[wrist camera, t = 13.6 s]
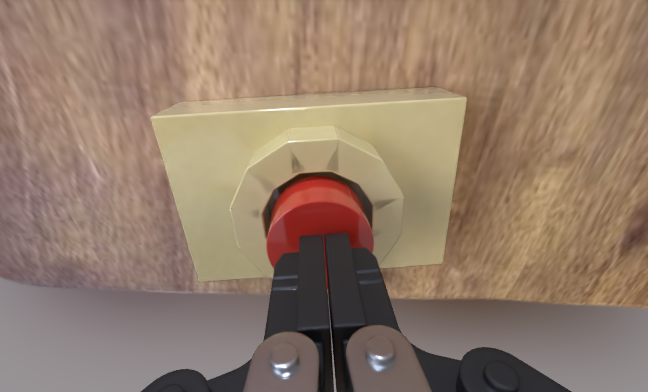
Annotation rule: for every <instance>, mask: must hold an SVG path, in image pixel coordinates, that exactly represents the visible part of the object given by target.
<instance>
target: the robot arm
mask: <svg viewBox="0 0 648 392" xmlns="http://www.w3.org/2000/svg"><path fill="white" fill-rule="evenodd" d="M325 249H326V266H327V282H328V294H327V282H326V269H325V257H324V244H323V234H317V235H303V236H300V237H299V252H293V253H283V254H282V256H281V257H280V258H279V260H278V261H277V262H276V264H275V267H274V274H273V281H272V288H271V289H272V292H271V295H270V303H269V309H268V316H267V323H266V330H265V336H264V341H263V343H261V344H260V345H259V347H258V348H257V349H256V351H255V353H254V354H253V357H252V359H251V360H249V361H248V362H247V363H246V364H244V365H243V366H241V367H239V368H238V369H236V370H233V371H231V372H228V373H226V374H223V375H221V376H218V377H216V378H213V379H210V380H208V381H207V380H206V378H205V377H204V376H203V375H202V374H201V373H199V372H197V371H194V370H189V369H181V370H176V371H173V372H170V373H167V374H165V375H163V376H161V377H160V378H158V379H156V380H155V381H154V382H152V383H151V384H150V385H149V386H147V387H146V388H145V389H144V390H143V391H141V392H334V384H333V368H332V351H331V333H330V319H331V331H332V343H333V354H334V366H335V378H336V389H337V392H571V391H569V390H568V389H566V388H565V387H563V386H561V385H560V384H558V383H557V382H555V381H553V380H552V379H550V378H548V377H547V376H545V375H544V374H542V373H540V372H539V371H537V370H536V369H534V368H532V367H531V366H529V365H527V364H526V363H524V362H523V361H521V360H519V359H517V358H516V357H514V356H513V355H511V354H509V353H506V352H504V351H502V350H498V349H494V348H487V347H482V348H476V349H473V350H471V351H469V352H467V353H466V354H465V355H464V357H463V359H462V360H461V361H460V360H455V359H451V358H447V357H442V356H438V355H434V354H430V353H427V352H425V351H423V350H421V349H419V348H417V347H416V346H414V345H413V344H411V343H410V342H409V341H408V339H407V338H406V337H405V336H404V335H403V334H402V333H401V331H400V329H399V327H398V324H397V321H396V318H395V315H394V311H393V308H392V305H391V302H390V299H389V296H388V293H387V289H386V286H385V283H384V280H383V277H382V274H381V272H380V268H379V264H378V261H377V258H376V257H375V256H374V255H373V254H372V253H371V252H370V251H369V250H368V249H367V248H366V247H362V248H351V245H350V240H349V235H348V232H345V233H330V234H325ZM328 295H329V306H330V319H329V307H328Z"/></svg>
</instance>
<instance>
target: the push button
mask: <svg viewBox="0 0 648 392" xmlns="http://www.w3.org/2000/svg"><path fill="white" fill-rule="evenodd" d="M345 232H348V235H349V240H350V245H351V248H362V247H366V248H367V249H368V250H369V251H370V252H371V253H373V249H374V238H373V233H372V230H371V227H370V224H369V221H368V219H367V216H366V213H365V210H364V207H363V204H362V202H361V199H360V198H359V196H358V194H357V193H356V192H355V191H354V190H353V189H352V188H351V187H350V186H349V185H347V184H346V183H344V182H342V181H340V180H338V179H335V178H331V177H326V176H312V177H307V178H303V179H300V180H298V181H296V182H294V183H292V184H290V185H289V186H288V187H286V188H285V189H284V190H283V191H282V192H281V194H280V195H279V196H278V198H277V199H276V201H275V204H274V206H273V211H272V215H271V221H270V226H269V231H268V236H267V242H266V250H267V255H268V259H269V261H270V263H271V265H272V267H273V268H274V267H275V264H276V262H277V261H278V260H279V258H280V257H281V256H282V254H283V253H293V252H299V237H300V236H303V235H317V234H323V244H324V257H325V269H326V282H327V266H326V249H325V234H330V233H345ZM327 289H328V282H327Z"/></svg>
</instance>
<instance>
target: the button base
mask: <svg viewBox="0 0 648 392" xmlns="http://www.w3.org/2000/svg"><path fill="white" fill-rule="evenodd" d="M466 104H467V98H466V97H464V96H461V95H458V94H455V93H452V92H449V91H447V90H444V89H441V88H438V87H423V88H406V89H389V90H373V91H356V92H339V93H323V94H306V95H290V96H273V97H256V98H240V99H223V100H207V101H190V102H180V103H178V104H176V105H174V106H172V107H170V108H168V109H166V110H164V111H162V112H160V113H158V114H156V115H154V116H152V117H151V122H152V125H153V128H154V132H155V135H156V139H157V142H158V145H159V149H160V152H161V155H162V159H163V162H164V166H165V169H166V172H167V176H168V179H169V182H170V186H171V189H172V193H173V196H174V199H175V203H176V206H177V209H178V213H179V216H180V220H181V223H182V226H183V230H184V233H185V236H186V240H187V243H188V247H189V250H190V253H191V257H192V260H193V263H194V267H195V270H196V274H197V277H198V280H199V282H209V281H222V280H236V279H249V278H263V277H269V278H272V279H273V274H274V268H273V267H272V265H271V263H270V261H269V259H268V255H267V250H266V242H267V236H268V231H269V226H270V221H271V215H272V211H273V206H274V204H275V201H276V199H277V198H278V196H279V195H280V194H281V192H282V191H283V190H284V189H285V188H286V187H288V186H289V185H290V184H292V183H294V182H296V181H298V180H300V179H303V178H307V177H312V176H326V177H331V178H335V179H338V180H340V181H342V182H344V183H346V184H347V185H349V186H350V187H351V188H352V189H353V190H354V191H355V192H356V193H357V194H358V196H359V198H360V199H361V202H362V204H363V207H364V210H365V213H366V216H367V219H368V221H369V224H370V227H371V230H372V233H373V238H374V249H373V253H372V254H373V255H374V256H375V257H376V258H377V261H378V264H379V268H380V269H383V268H396V267H410V266H423V265H437V264H442V263H443V257H444V251H445V244H446V237H447V231H448V224H449V217H450V211H451V204H452V197H453V191H454V184H455V177H456V171H457V164H458V157H459V151H460V144H461V137H462V131H463V124H464V117H465V111H466Z"/></svg>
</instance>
